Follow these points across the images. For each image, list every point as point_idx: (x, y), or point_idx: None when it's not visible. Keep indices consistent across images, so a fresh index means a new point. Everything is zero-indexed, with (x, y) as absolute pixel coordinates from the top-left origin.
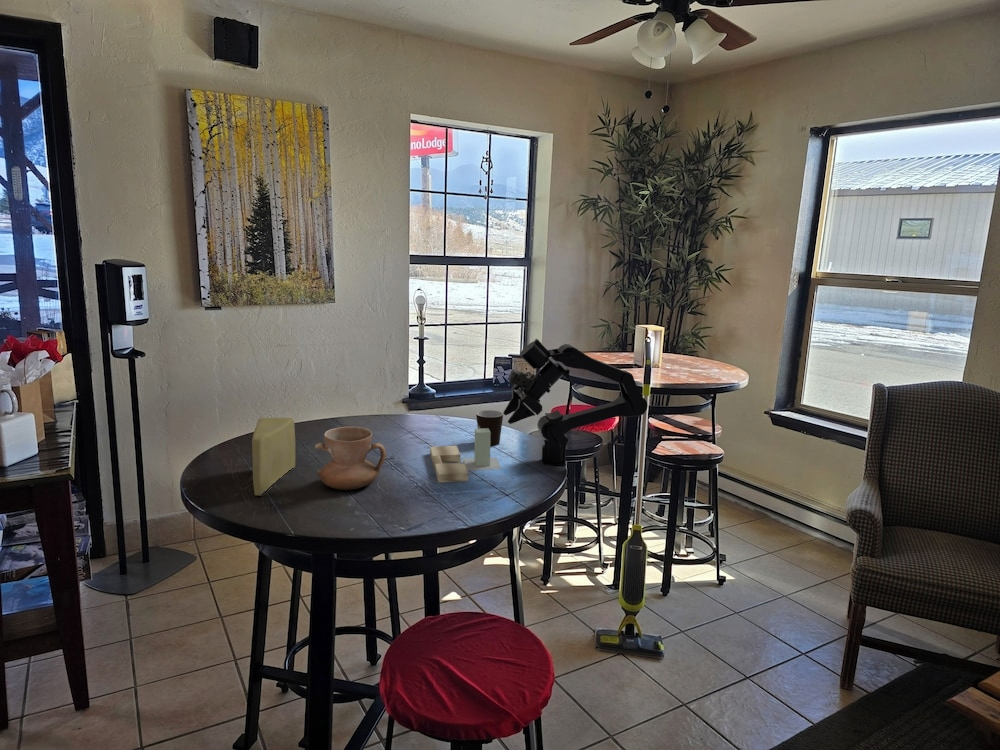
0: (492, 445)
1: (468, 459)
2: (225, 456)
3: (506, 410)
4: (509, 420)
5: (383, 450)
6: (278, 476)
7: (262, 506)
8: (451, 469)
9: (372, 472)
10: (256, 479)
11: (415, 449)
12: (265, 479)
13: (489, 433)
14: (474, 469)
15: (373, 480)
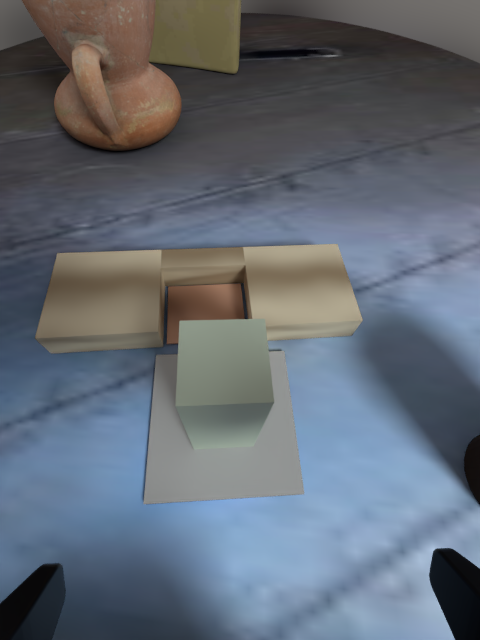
0: (476, 492)
1: (276, 369)
2: (292, 26)
3: (473, 605)
4: (20, 590)
5: (75, 78)
6: (163, 53)
7: (61, 59)
8: (91, 289)
9: (81, 122)
10: None
11: (373, 231)
12: None
13: (176, 401)
14: (160, 382)
15: (88, 143)
